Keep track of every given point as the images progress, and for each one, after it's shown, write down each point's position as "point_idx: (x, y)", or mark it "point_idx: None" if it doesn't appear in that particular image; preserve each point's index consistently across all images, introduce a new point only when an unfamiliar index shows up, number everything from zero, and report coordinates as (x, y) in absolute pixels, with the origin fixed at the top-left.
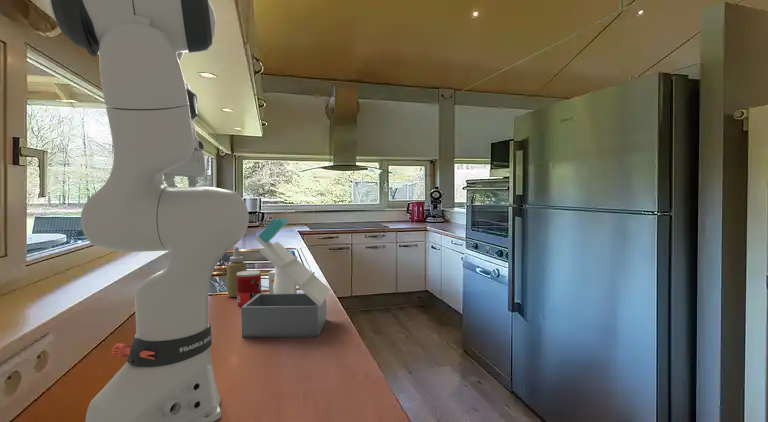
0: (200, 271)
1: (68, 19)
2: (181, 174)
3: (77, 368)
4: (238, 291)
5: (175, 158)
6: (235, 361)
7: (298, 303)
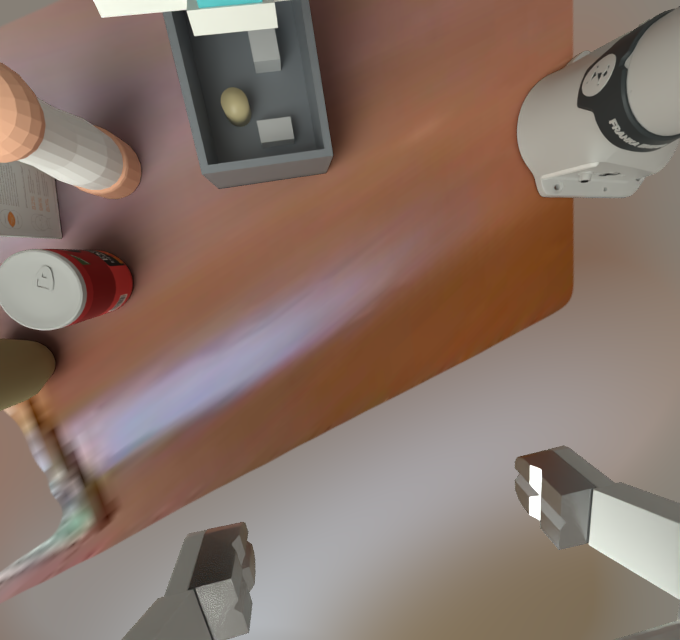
0: None
1: None
2: (648, 631)
3: (469, 353)
4: (110, 302)
5: None
6: (428, 125)
7: (187, 58)
